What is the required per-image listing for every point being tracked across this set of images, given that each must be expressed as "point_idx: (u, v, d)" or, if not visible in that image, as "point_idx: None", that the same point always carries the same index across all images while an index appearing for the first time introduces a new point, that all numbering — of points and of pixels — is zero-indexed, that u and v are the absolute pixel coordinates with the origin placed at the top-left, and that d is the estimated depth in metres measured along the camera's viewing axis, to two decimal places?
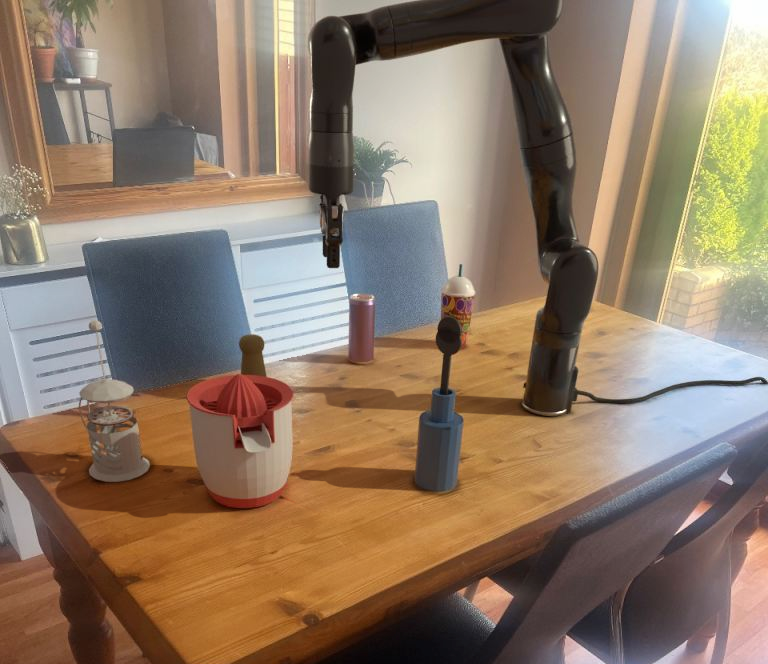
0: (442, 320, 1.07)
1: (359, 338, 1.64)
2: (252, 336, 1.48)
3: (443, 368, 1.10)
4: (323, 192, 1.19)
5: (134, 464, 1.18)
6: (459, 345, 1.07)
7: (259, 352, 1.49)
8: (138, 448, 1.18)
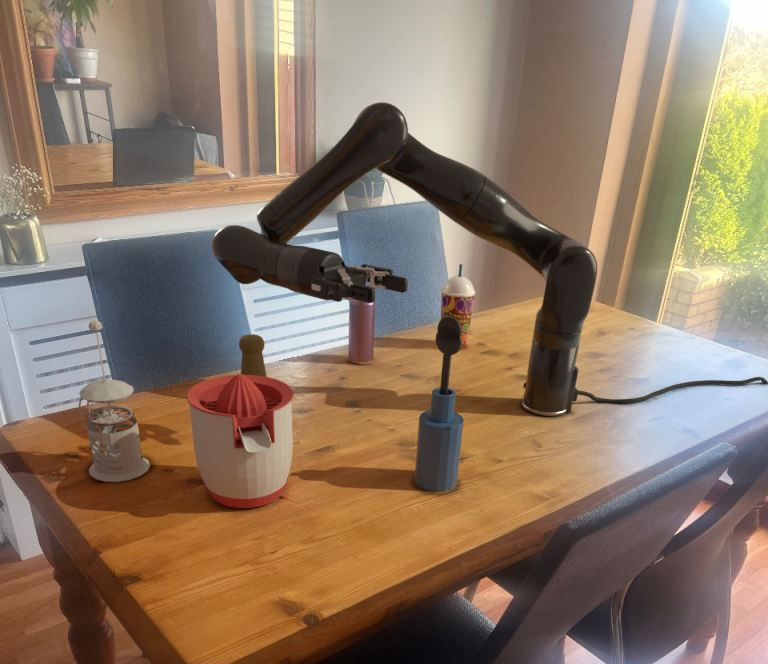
0: (442, 320, 1.07)
1: (359, 338, 1.64)
2: (252, 336, 1.48)
3: (443, 368, 1.10)
4: None
5: (134, 464, 1.18)
6: (459, 345, 1.07)
7: (259, 352, 1.49)
8: (138, 448, 1.18)
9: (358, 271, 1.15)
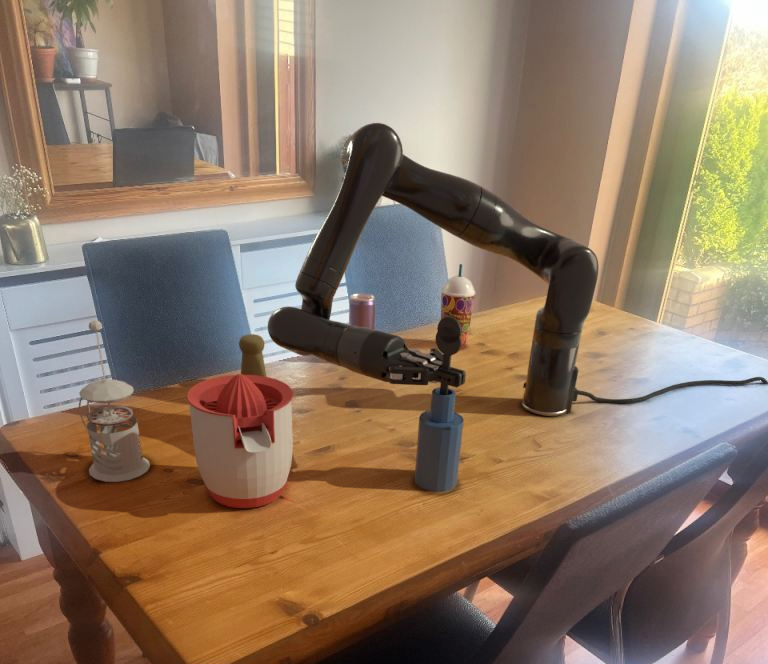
0: (442, 320, 1.07)
1: None
2: (252, 336, 1.48)
3: None
4: (379, 374, 1.14)
5: (134, 464, 1.18)
6: (459, 345, 1.07)
7: (259, 352, 1.49)
8: (138, 448, 1.18)
9: (417, 356, 1.13)
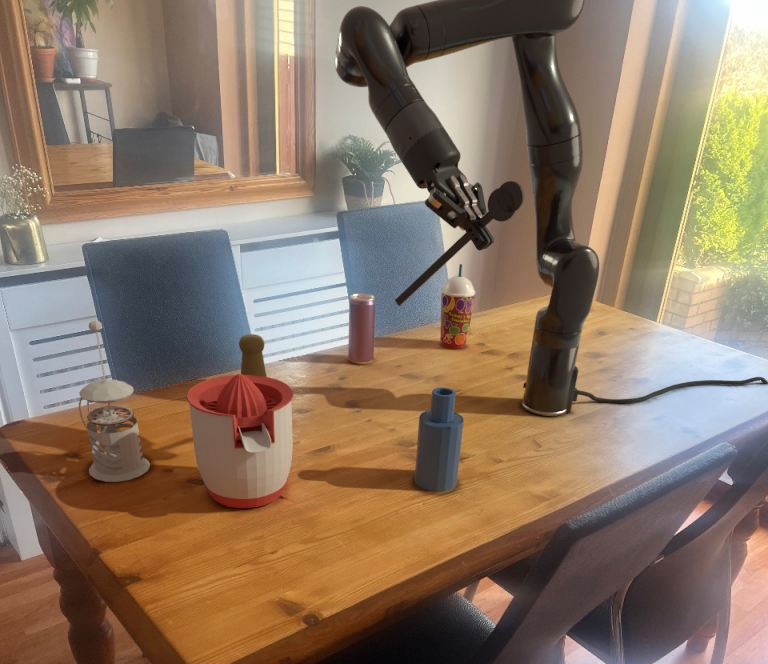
0: (511, 183, 0.99)
1: (359, 338, 1.64)
2: (252, 336, 1.48)
3: None
4: (419, 179, 1.03)
5: (134, 464, 1.18)
6: (508, 218, 1.01)
7: (259, 352, 1.49)
8: (138, 448, 1.18)
9: (463, 188, 1.04)
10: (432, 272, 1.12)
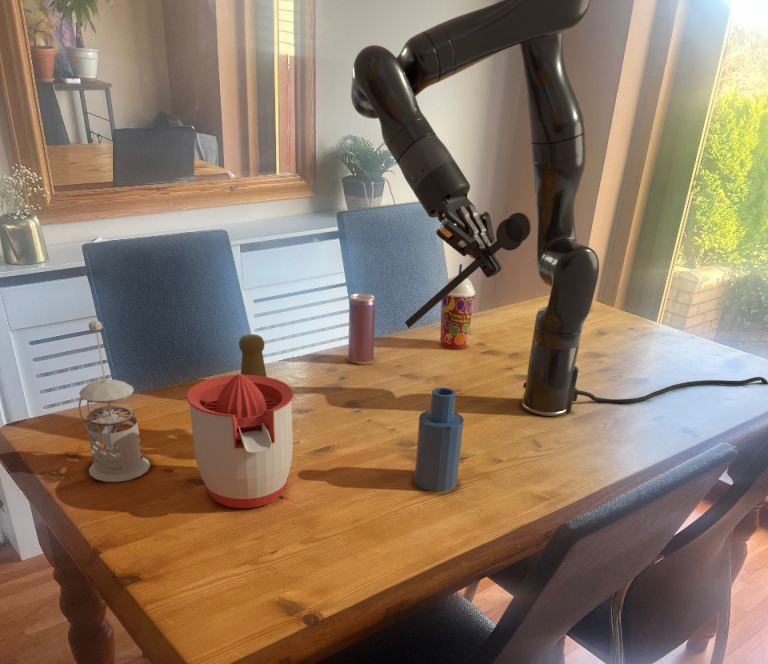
0: (519, 214, 1.03)
1: (359, 338, 1.64)
2: (252, 336, 1.48)
3: None
4: (430, 209, 1.08)
5: (134, 464, 1.18)
6: (515, 247, 1.06)
7: (259, 352, 1.49)
8: (138, 448, 1.18)
9: (472, 218, 1.09)
10: (442, 296, 1.16)
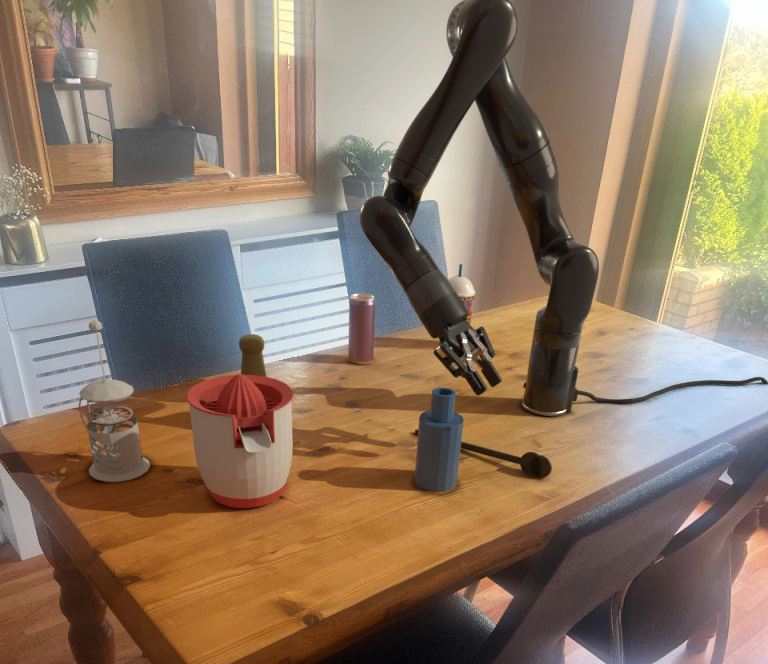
0: (547, 462, 1.21)
1: (359, 338, 1.64)
2: (252, 336, 1.48)
3: (508, 456, 1.25)
4: (433, 334, 1.21)
5: (134, 464, 1.18)
6: None
7: (259, 352, 1.49)
8: (138, 448, 1.18)
9: (472, 341, 1.22)
10: None
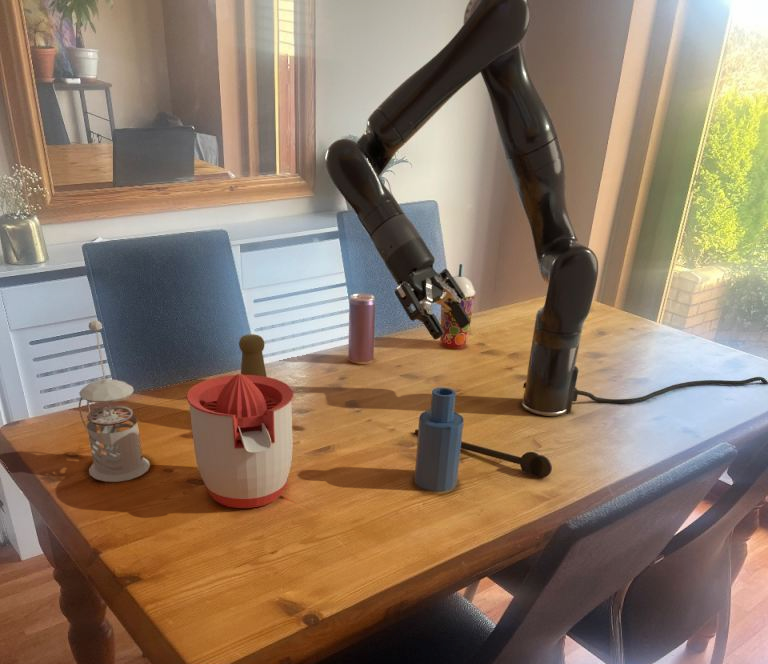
0: (547, 462, 1.21)
1: (359, 338, 1.64)
2: (252, 336, 1.48)
3: (508, 456, 1.25)
4: (398, 280, 1.21)
5: (134, 464, 1.18)
6: None
7: (259, 352, 1.49)
8: (138, 448, 1.18)
9: (440, 286, 1.22)
10: None
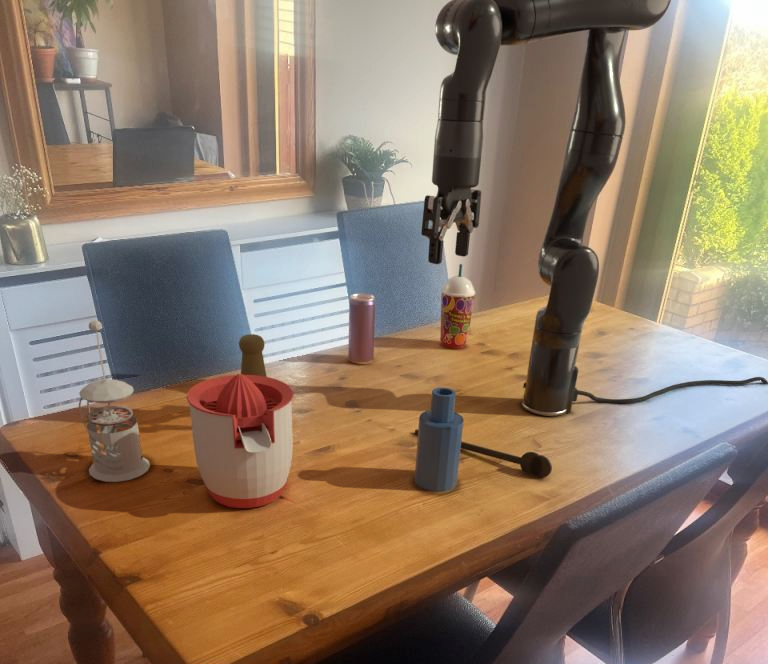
0: (547, 462, 1.21)
1: (359, 338, 1.64)
2: (252, 336, 1.48)
3: (508, 456, 1.25)
4: (435, 183, 1.13)
5: (134, 464, 1.18)
6: None
7: (259, 352, 1.49)
8: (138, 448, 1.18)
9: (464, 211, 1.18)
10: None
